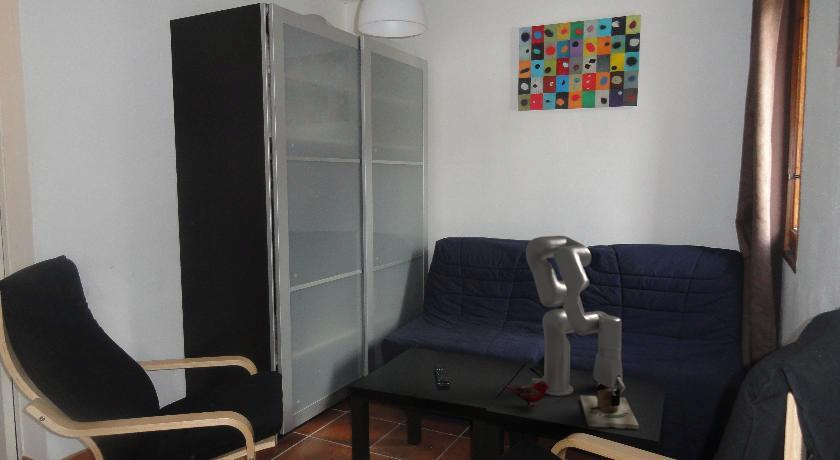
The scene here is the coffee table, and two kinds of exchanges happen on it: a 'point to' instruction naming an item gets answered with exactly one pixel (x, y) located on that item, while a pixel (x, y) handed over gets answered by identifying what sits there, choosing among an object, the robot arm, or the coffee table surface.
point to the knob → (605, 401)
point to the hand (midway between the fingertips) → (607, 401)
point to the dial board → (608, 414)
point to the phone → (538, 370)
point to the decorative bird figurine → (531, 392)
